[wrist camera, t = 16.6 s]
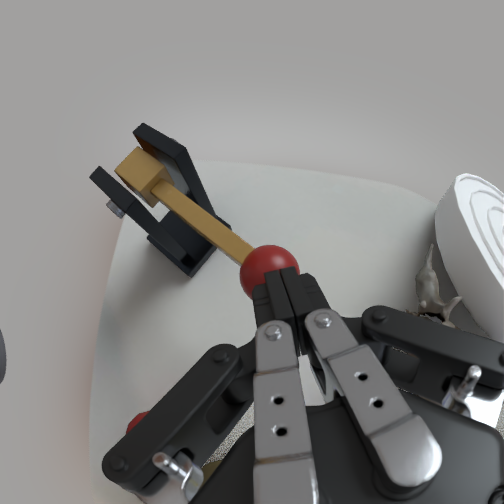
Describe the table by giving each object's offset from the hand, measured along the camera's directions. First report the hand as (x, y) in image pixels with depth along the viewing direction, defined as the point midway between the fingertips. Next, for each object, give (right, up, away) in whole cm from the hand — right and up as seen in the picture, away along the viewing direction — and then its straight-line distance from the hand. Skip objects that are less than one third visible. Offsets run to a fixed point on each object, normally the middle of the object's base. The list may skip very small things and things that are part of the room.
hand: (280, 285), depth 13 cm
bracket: (-7, +3, +14) cm, 16 cm away
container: (+25, +3, +4) cm, 26 cm away
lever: (-4, +3, +4) cm, 6 cm away
